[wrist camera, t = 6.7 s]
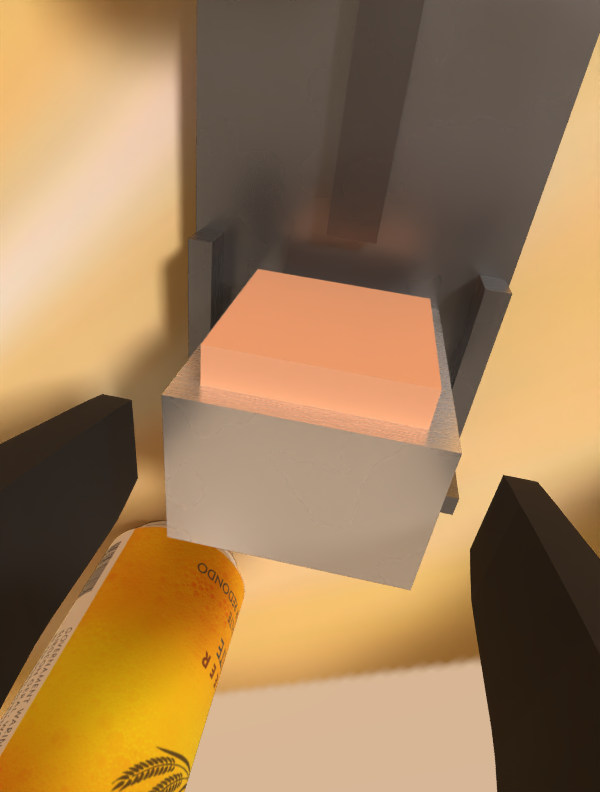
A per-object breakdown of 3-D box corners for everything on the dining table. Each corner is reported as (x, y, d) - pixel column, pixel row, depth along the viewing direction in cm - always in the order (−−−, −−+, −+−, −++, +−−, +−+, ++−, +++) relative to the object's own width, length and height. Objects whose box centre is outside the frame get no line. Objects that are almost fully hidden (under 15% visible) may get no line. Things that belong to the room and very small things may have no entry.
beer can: (213, 623, 24) (12, 1201, 12) (99, 564, 23) (-251, 1124, 11) (274, 559, 21) (88, 1259, 9) (145, 488, 20) (-275, 1156, 8)
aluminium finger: (407, 419, 15) (410, 590, 10) (243, 387, 15) (167, 537, 10) (447, 280, 13) (477, 412, 8) (252, 247, 13) (160, 352, 8)
